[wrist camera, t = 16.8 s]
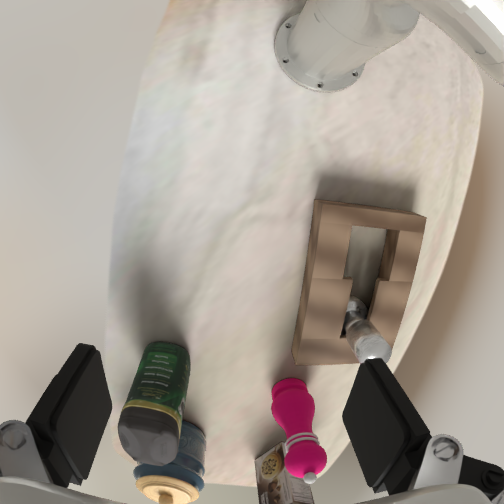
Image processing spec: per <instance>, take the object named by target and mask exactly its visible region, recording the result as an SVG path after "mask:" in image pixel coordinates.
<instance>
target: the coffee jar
mask: <svg viewBox="0 0 504 504" xmlns="http://www.w3.org/2000/svg"><path fill="white" fill-rule="evenodd" d="M189 376H190V357H189V354H188V352H187V351H186V350H185V349H184V348H182V347H181V346H178V345H175V344H171V343H166V342H154V343H151V344H149V345H148V346H147V347H146V349H145V351H144V354H143V356H142V359H141V362H140V364H139V367H138V370H137V373H136V376H135V378H134V381H133V384H132V387H131V389H130V392H129V395H128V398H127V400H126V403H125V405H124V407H123V409H122V411H121V415H120V419H119V423H118V434H119V438H120V441H121V445H122V447H123V449H124V450H125V451H126V452H127V453H128V454H129V455H130V456H131V457H132V458H133V459H134V460H135V461H138V462H142V463H146V464H151V465H157V466H163V465H165V464H168V463H170V462H171V461H173V460H174V459H175V457H176V455H177V453H178V446H179V440H180V432H181V425H182V419H183V413H184V406H185V400H186V394H187V388H188V383H189Z"/></svg>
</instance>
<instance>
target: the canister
mask: <svg viewBox="0 0 504 504" xmlns="http://www.w3.org/2000/svg"><path fill="white" fill-rule="evenodd" d="M205 451H206V441H205V436H204V434H203V433H202V431H201V430H200V429H199V428H197V427H196V426H195V425H193V424H191V423H189V422H186V421H184V420H182V425H181V432H180V440H179V446H178V453H177V455H176V457H175V459H174V460H173V461H171V462H170V463H168V464H165V465H163V466H157V465H151V464H146V463H142V462H138V461H137V464H138V466H137V467H135V469H134V471H133V474H134V477H135V479H136V480H137V481H136V487H137V488H138V489H139V491H141V492H142V493H143V494H144V495H145V496H146V497H148V498H149V499H151V500H154V501H156V502H159V504H187V503H189V502H193V501H195V500H196V499H197V498H198V497H199V492H200V491H201V490H202V489H203V488H204V481H203V479H202V477H203V475H204V473H205V468H204V459H205Z"/></svg>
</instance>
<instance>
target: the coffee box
mask: <svg viewBox="0 0 504 504" xmlns="http://www.w3.org/2000/svg"><path fill="white" fill-rule="evenodd" d="M286 454H287V453H286V448H285V443H284V442H280V443H279V444H277V445H276V446H275V447H273V448H272V449H270V450H269V451H268V452H266V453H265V454H263V455H262V456H260V457H259V458H257V459H256V460H255V470H256V479H257V488H258V495H259V496H258V497H259V504H314V501H313V496H312V492H311V488H310V484H308V483H306V482H305V481H304V480H303V478H298V477H295V476H293V475H291V474H290V473H289V472H288V471H287V469H286V467H285V462H284V459H285V456H286Z"/></svg>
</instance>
